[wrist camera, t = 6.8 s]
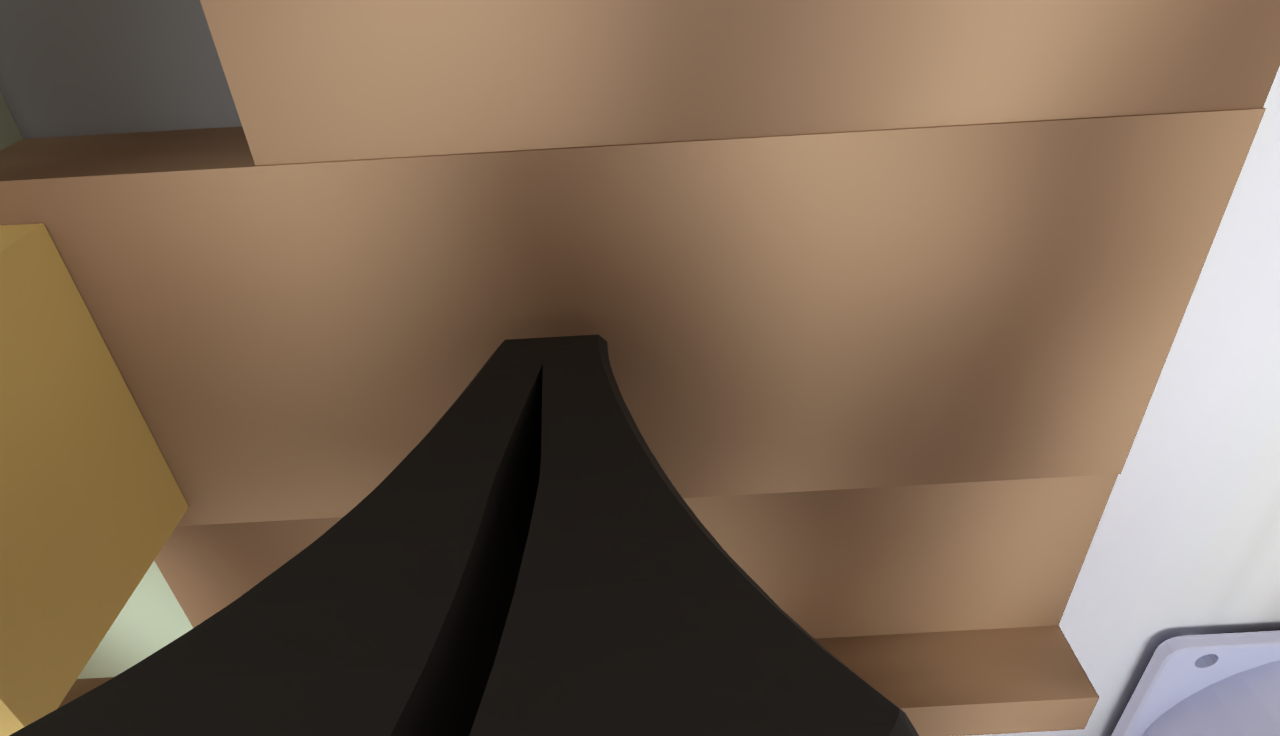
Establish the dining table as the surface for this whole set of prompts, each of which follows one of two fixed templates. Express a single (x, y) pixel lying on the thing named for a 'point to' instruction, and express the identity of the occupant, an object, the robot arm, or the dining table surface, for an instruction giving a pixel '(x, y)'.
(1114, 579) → the dining table surface
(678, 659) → the robot arm
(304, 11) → the walnut lane
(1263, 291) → the dining table surface
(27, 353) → the ochre block
